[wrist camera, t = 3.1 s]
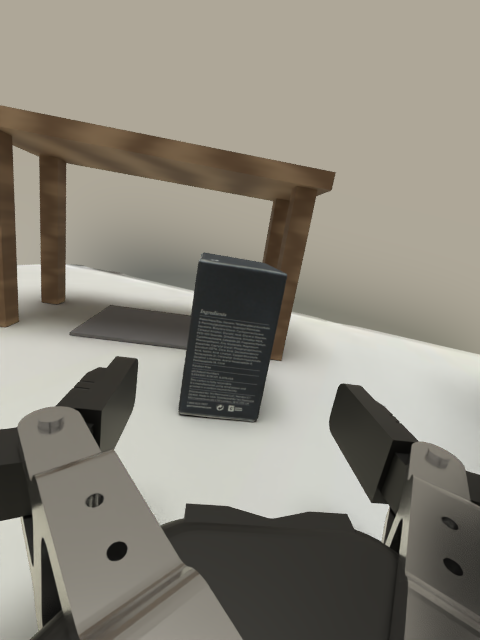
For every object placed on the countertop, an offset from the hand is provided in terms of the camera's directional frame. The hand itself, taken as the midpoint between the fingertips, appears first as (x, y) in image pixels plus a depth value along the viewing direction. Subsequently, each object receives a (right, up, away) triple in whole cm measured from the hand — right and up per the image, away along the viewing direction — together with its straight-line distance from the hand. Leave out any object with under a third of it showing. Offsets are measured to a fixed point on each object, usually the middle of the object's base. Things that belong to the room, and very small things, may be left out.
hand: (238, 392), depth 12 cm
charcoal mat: (-11, +2, +25) cm, 27 cm away
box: (-2, -3, +12) cm, 13 cm away
